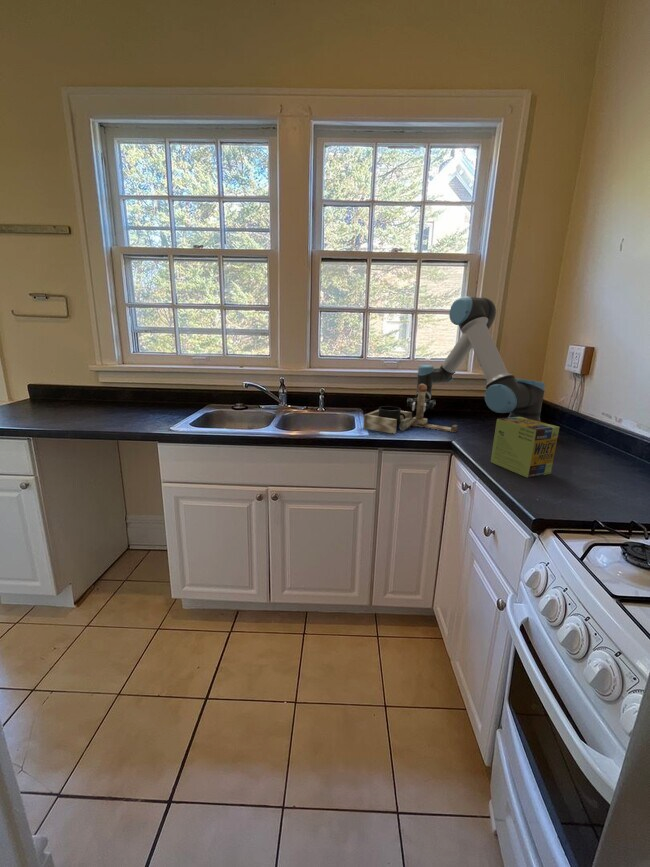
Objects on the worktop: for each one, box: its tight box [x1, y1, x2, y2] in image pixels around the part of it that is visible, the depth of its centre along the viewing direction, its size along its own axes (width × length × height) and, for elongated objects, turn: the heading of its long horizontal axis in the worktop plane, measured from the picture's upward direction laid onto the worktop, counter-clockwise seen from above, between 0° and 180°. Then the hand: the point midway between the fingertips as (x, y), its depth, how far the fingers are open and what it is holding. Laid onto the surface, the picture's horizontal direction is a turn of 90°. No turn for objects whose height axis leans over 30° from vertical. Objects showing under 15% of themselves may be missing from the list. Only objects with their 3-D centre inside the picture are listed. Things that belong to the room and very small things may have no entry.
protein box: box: [490, 416, 561, 479], centre depth 127 cm, size 10×15×16 cm
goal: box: [362, 408, 413, 435], centre depth 176 cm, size 15×19×6 cm
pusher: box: [399, 384, 428, 432], centre depth 173 cm, size 6×16×19 cm, turn 147°
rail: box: [411, 423, 459, 433], centre depth 178 cm, size 26×4×2 cm, turn 57°
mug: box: [378, 405, 405, 431], centre depth 173 cm, size 9×12×9 cm
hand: (418, 408), depth 173 cm, fingers open, 4 cm apart
